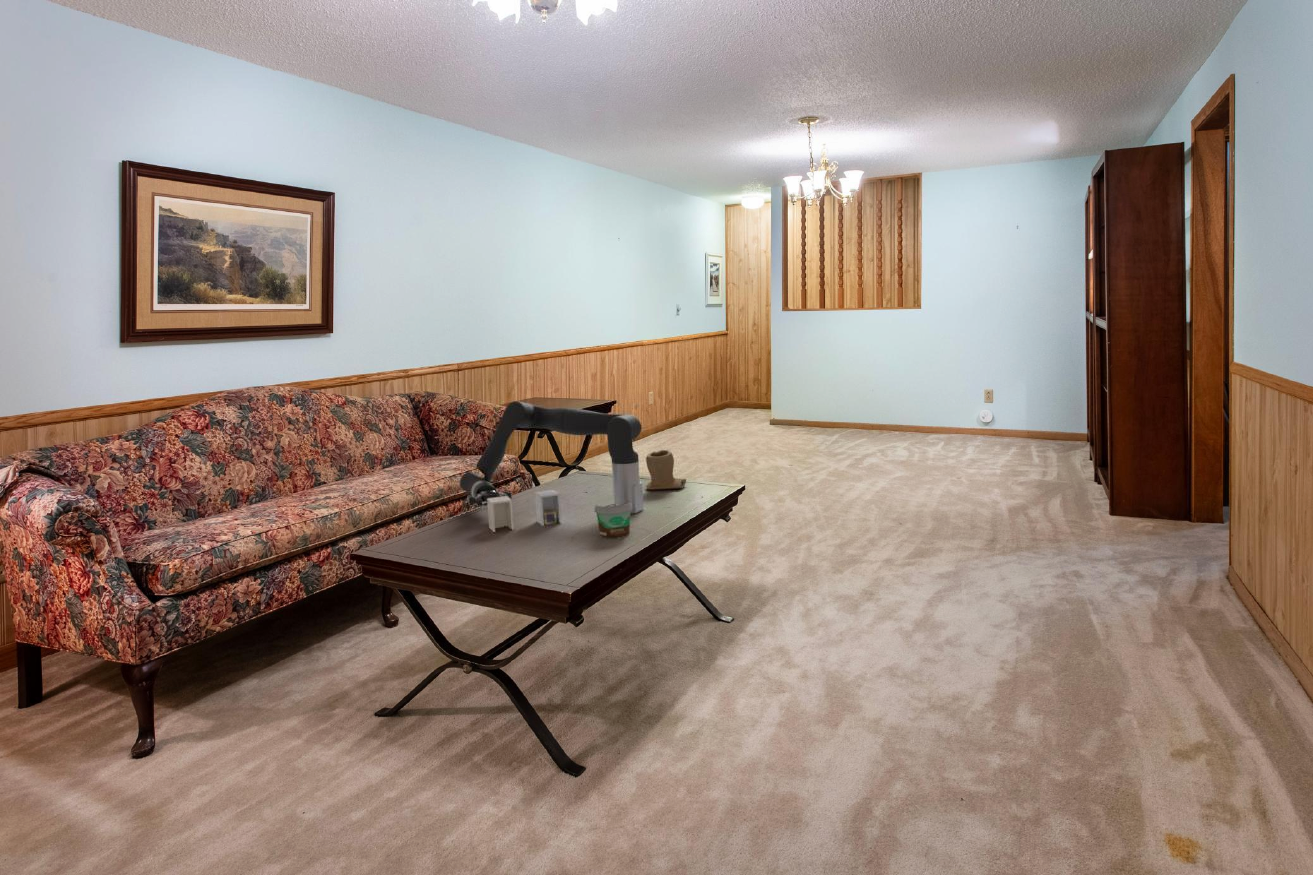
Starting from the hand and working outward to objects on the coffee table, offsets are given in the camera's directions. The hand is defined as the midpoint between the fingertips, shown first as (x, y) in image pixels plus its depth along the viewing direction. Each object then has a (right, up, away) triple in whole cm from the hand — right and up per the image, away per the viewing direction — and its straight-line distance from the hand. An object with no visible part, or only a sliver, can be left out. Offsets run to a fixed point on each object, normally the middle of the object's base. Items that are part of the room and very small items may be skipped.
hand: (494, 501), depth 281 cm
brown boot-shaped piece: (+57, +1, +44) cm, 72 cm away
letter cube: (+18, -7, 0) cm, 20 cm away
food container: (+42, -9, -21) cm, 48 cm away
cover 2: (+18, -7, 0) cm, 20 cm away
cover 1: (+4, -8, -6) cm, 11 cm away
